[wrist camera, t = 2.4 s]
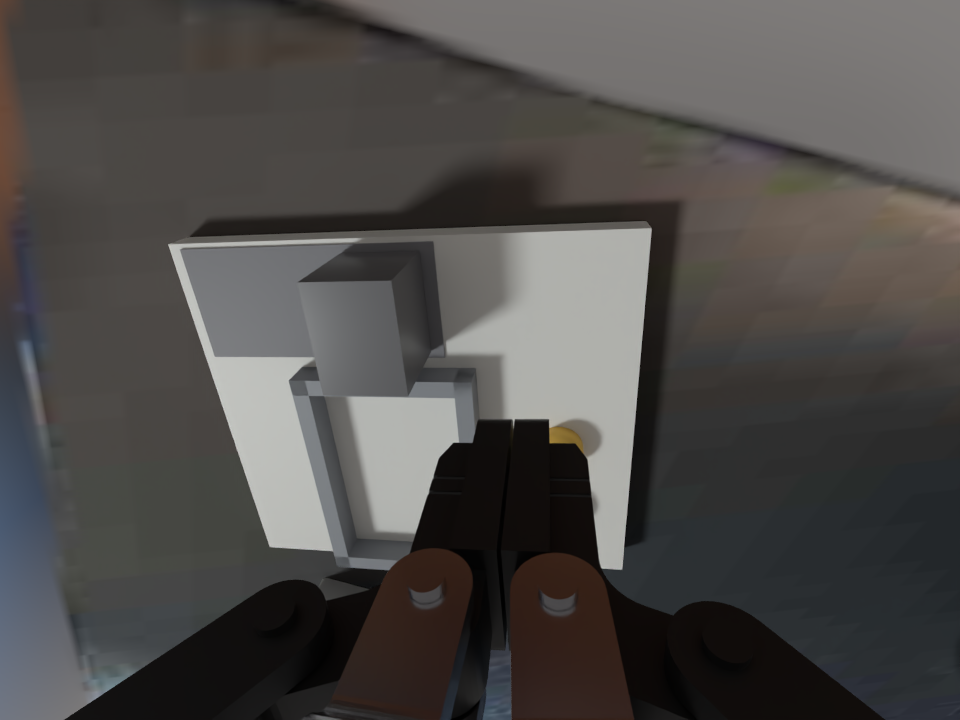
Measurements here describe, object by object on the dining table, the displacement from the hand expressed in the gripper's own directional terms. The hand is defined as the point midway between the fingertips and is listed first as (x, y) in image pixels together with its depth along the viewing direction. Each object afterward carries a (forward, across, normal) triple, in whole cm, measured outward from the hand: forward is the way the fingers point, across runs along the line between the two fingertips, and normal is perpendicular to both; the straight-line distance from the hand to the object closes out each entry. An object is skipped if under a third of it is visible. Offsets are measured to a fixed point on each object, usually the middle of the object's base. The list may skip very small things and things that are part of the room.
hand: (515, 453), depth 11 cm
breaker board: (+10, +5, +5) cm, 12 cm away
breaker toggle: (+9, +5, 0) cm, 10 cm away
